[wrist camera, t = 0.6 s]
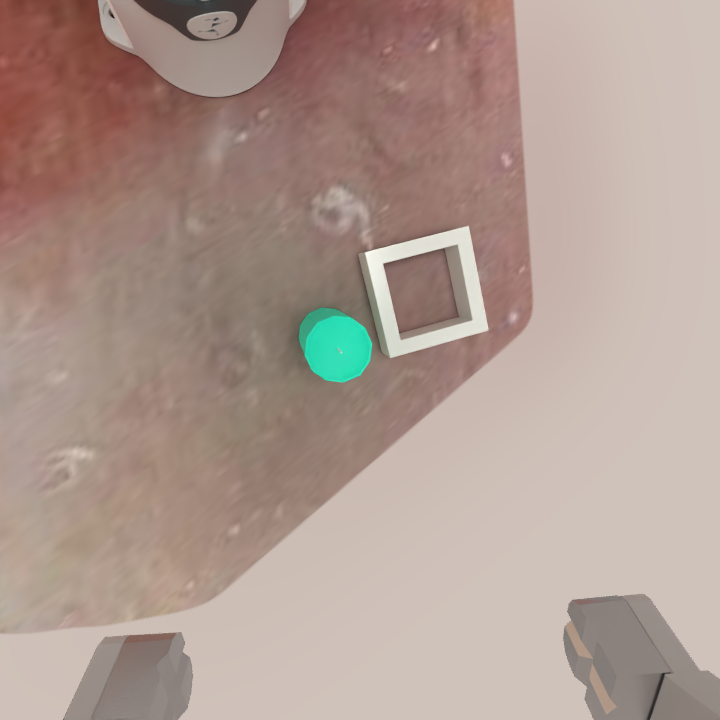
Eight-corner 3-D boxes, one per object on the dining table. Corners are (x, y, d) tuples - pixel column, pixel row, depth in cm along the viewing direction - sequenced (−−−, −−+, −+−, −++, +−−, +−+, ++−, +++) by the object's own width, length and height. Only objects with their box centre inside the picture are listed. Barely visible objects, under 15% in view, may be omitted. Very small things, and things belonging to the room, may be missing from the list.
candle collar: (358, 253, 52) (364, 252, 48) (454, 229, 53) (468, 225, 49) (381, 352, 54) (390, 358, 50) (473, 326, 55) (488, 330, 51)
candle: (364, 338, 53) (389, 356, 42) (322, 373, 53) (335, 401, 42) (330, 295, 52) (346, 302, 40) (286, 331, 52) (290, 347, 40)
